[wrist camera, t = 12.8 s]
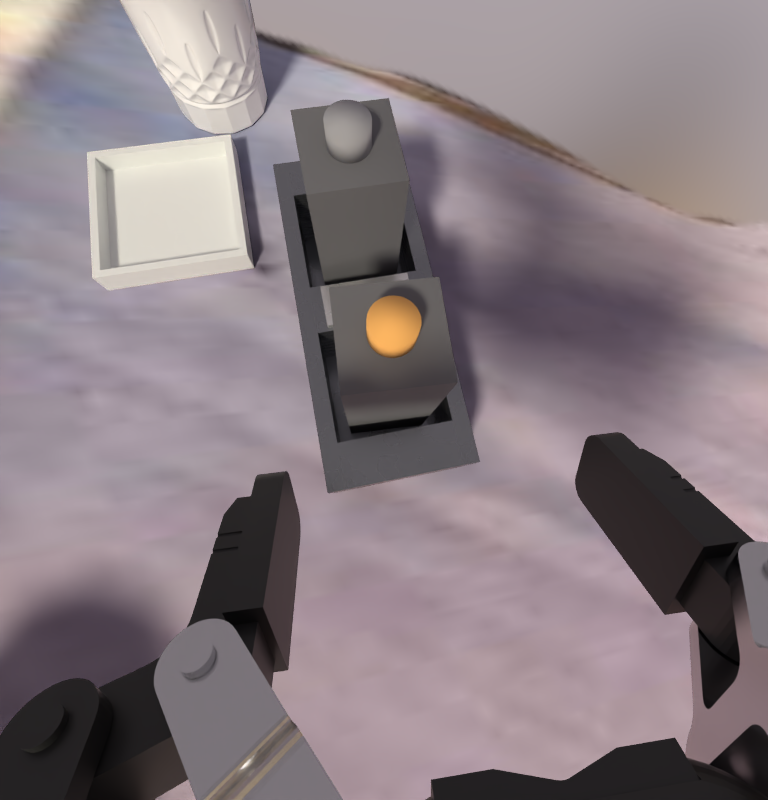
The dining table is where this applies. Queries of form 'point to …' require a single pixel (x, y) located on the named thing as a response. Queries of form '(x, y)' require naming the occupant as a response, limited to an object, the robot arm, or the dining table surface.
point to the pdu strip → (340, 449)
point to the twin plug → (353, 186)
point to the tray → (167, 212)
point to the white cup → (205, 58)
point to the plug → (391, 352)
